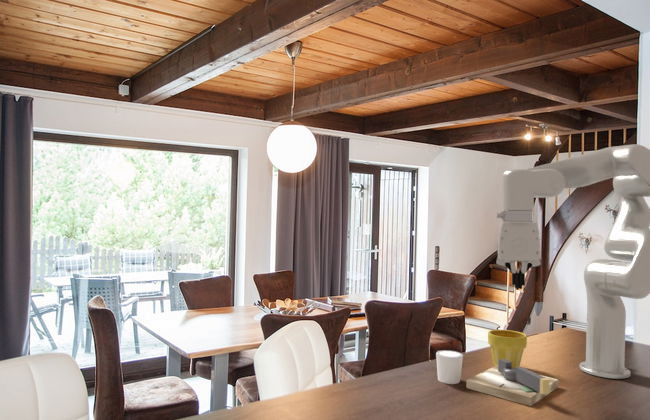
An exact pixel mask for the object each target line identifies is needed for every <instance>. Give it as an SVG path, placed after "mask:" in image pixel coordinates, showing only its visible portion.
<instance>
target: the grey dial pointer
mask: <svg viewBox="0 0 650 420" xmlns="http://www.w3.org/2000/svg"><path fill="white" fill-rule="evenodd" d="M498 372H500V373H502V374H504V378H506V379H508V380H513V381H518V382H520V383H522V384H524V385H526V386H528V387H530V388H532V389H534V390H536V391H538V392H540V393H541V394H548V395H549V394H550V393H549V383H550V380H549V379H547V378H545V377H543V376H544V375H542V374H538V373H537V372H534V371H532V370H529V369H527V368H525V367H524V366H519V367H515V368H514V367H512V362H510V361H508V360H506V359H498ZM541 375H542V376H541Z"/></svg>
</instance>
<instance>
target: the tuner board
mask: <svg viewBox="0 0 650 420" xmlns="http://www.w3.org/2000/svg"><path fill="white" fill-rule="evenodd" d="M540 375H541V376H543V377H545V378H547V379H549V380H550V383H549V394H550V393H551V392H553V391H554V390H556V389H558V388H559V379H558V378H555V377H554V378H553V377H549V376H546V375H542V374H540ZM466 389H469V390H472V391H476V392H478V393H482V394H486V395H489V396H492V397H496V398H501V399H503V400H508V401H512V402H515V403H518V404H521V405H525V406H529V407H532V406H534V405H535V404H536V403H538V402H539V401H541V400H542V399H543V398H545V397H546V396H548V395H549V394H541V393H540V392H538V391H536V390H534V389H532V388H530V387H528V386H526V385H524V384H522V383H520V382H518V381H513V380H508V379H506V378H504V374H502V373H500V372H498V365H496V366H492V367H490V368H488V369H486V370H484V371H482V372H480V373H477V374H475V375H474V376H471V377H470V378H467V379H466Z"/></svg>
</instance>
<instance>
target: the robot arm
mask: <svg viewBox="0 0 650 420" xmlns="http://www.w3.org/2000/svg"><path fill="white" fill-rule="evenodd" d="M609 179H612V187H613V191H614V193H615V195H616V198H617V201H618V213H617V216H616V218H615V221H614V222H613V224H612V227H611V228H610V230H609V233H608V235H607V237H606V239H605V242H604V246H603V247H604V248H603V249H604V252H605V254H606V256H608V257H610V258H612V259H606V258H605V259H604V258H599V259H595V260H592V261H590V262H588V264H587V265H586V266H585V268H584V272H583V280H584V287H585V290H586V302H587V303H586V307H587V308H586V336H585V337H586V341H585V361H582V362H580V363H579V369H580V370H581V371H582V372H585V373H586V374H589V375H592V376H595V377H600V378H605V379H614V380H615V379H616V380H619V379H628V378H630V377H631V376H632V375H631V374H632V373H631V370H630V369H628V368H627V367H625V357H626V356H625V355H626V353H625V352H626V351H625V350H626V318H627V317H626V316H627V313H626V312H627V311H626V307H625V303H624V301H623V299H622V298H621V297H623V298H628V299H633V300H634V299H635V300H642V299H644V298H646V297H648V296H649V295H650V206H649V205H648V203H647V202H646V201H647V200H645V197H647V198H648V197H650V149H649V148H648V147H646V146H644V145H641V144H638V143H636V144H634V143H633V144H624V145H619V146H618V145H617V146H609V147H604V148H600V149H598V150H597V149H596V150H594V151H591V152H588V153H584V154H580V155H577V156H573V157H567V158H564V159H561V160H556V161H554V162H549V163H545V164H541V165H538V166H537V165H536V166H534V167H530V168H525V169H523V168H522V169H520V168H519V169H507V170H505V171H504V172H503V174H502V211H501V212H496V218H497V219H501V220H502V222H499V227H498V234H497V245H496V246H497V247H496V248H497V249H496V250H497V251H496V252H497V257H496V262H495V263H496V264H497V265H498V266H502V267H506V268H507V269H508V270H509V271H510V272H511V285H512V286H514V289H515V290H518V289H519V290H523V286H525V285H526V281H525V280H526V277H525V274H526V273H527V272H528V271H529V270H530V269H531V268H533V267H535V268H536V267H539V266H541V240H540V231H539V225H538V222H534V221H535V219H534V217H535V215H534V214H535V213H534V211H535V210H534V209H535V207H534V206H535V203H534V202H535V199H539V198H541V199H542V198H543V199H546V198H548V199H549V198H553V197H557V196H558V195H559V196H560V194H562V193H563V192H564V189H576V188H582V187H587V186H590V185H593V184H596V183H599V182H603V181H605V180H609ZM534 198H535V199H534ZM516 262H517V263H519V262H520V266H519V269H518V270H517V265H516Z"/></svg>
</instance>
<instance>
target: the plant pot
mask: <svg viewBox="0 0 650 420" xmlns="http://www.w3.org/2000/svg"><path fill="white" fill-rule="evenodd" d="M487 343H488V345H489V346H490V350H491V356H492V362H493V365H494V366H496V365H498V359H506V360H508V361H510V362H512V367H514V368H515V367H521V366H520V365H521V362H522V358H523V354H524V350H525V349H526V348H527V346H528V345H527V344H528V336H527V334H526V333H523V332H520V331H515V330H510V329H509V330H508V329H491V330H488V332H487ZM494 366H493V367H494Z"/></svg>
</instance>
